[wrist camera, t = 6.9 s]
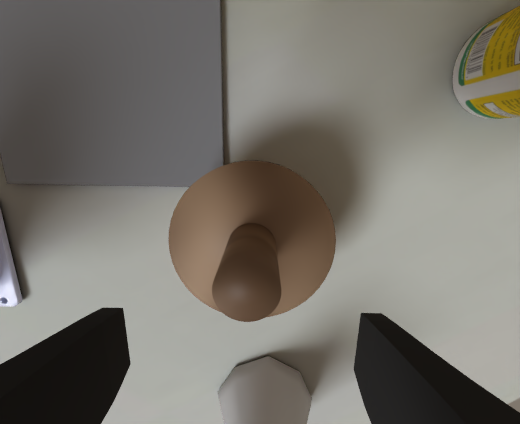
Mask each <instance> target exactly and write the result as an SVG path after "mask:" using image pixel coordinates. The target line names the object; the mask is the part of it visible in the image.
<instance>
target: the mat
mask: <svg viewBox="0 0 520 424" xmlns="http://www.w3.org/2000/svg"><path fill="white" fill-rule="evenodd" d="M0 155H1V159H2V163H3V168H4V172H5V176H6V181H7V184H59V185H115V186H171V187H190V186H191V185H192V184H193V183H195V182H196V181H197V180H198V179H199V178H201V177H202V176H204V175H205V174H207V173H209V172H210V171H212V170H214V169H216V168H219V167H221V166H223V165H224V142H223V89H222V35H221V0H0Z"/></svg>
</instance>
